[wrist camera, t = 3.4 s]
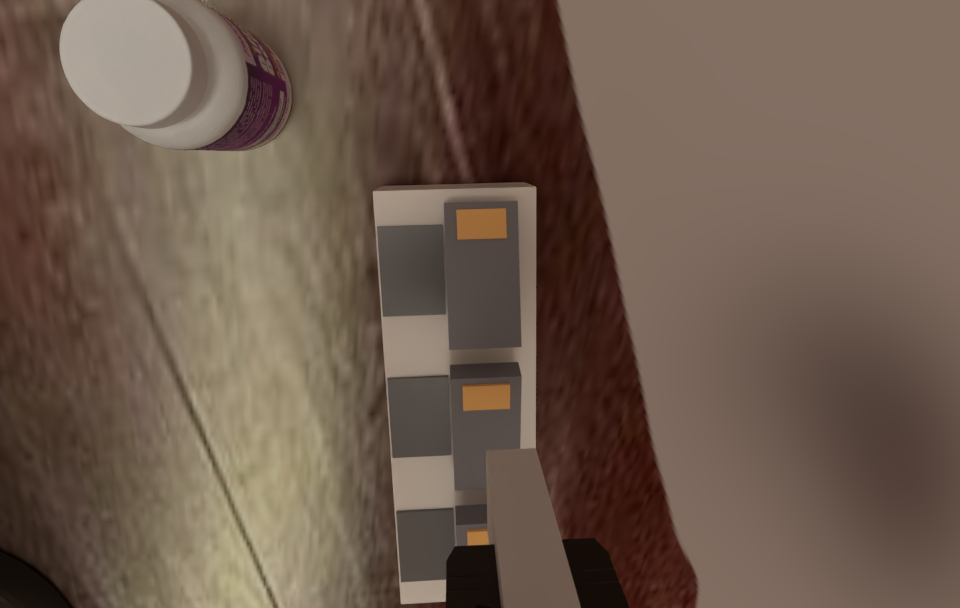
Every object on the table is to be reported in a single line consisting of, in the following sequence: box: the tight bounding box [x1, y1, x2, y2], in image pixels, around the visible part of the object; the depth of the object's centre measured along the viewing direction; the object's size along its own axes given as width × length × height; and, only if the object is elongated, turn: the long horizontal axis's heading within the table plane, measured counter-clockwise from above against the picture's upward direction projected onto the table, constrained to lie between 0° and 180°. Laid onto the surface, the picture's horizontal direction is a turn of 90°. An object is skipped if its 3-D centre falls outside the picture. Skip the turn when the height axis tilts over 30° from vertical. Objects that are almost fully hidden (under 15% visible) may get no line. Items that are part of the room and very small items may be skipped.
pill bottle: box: [60, 0, 292, 151], centre depth 22 cm, size 5×5×10 cm
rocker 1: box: [444, 201, 522, 350], centre depth 24 cm, size 3×6×1 cm, turn 1°
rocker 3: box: [455, 504, 489, 546], centre depth 28 cm, size 3×6×1 cm, turn 1°
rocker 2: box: [450, 362, 522, 491], centre depth 26 cm, size 3×6×1 cm, turn 1°
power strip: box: [373, 182, 536, 604], centre depth 29 cm, size 7×21×5 cm, turn 1°
